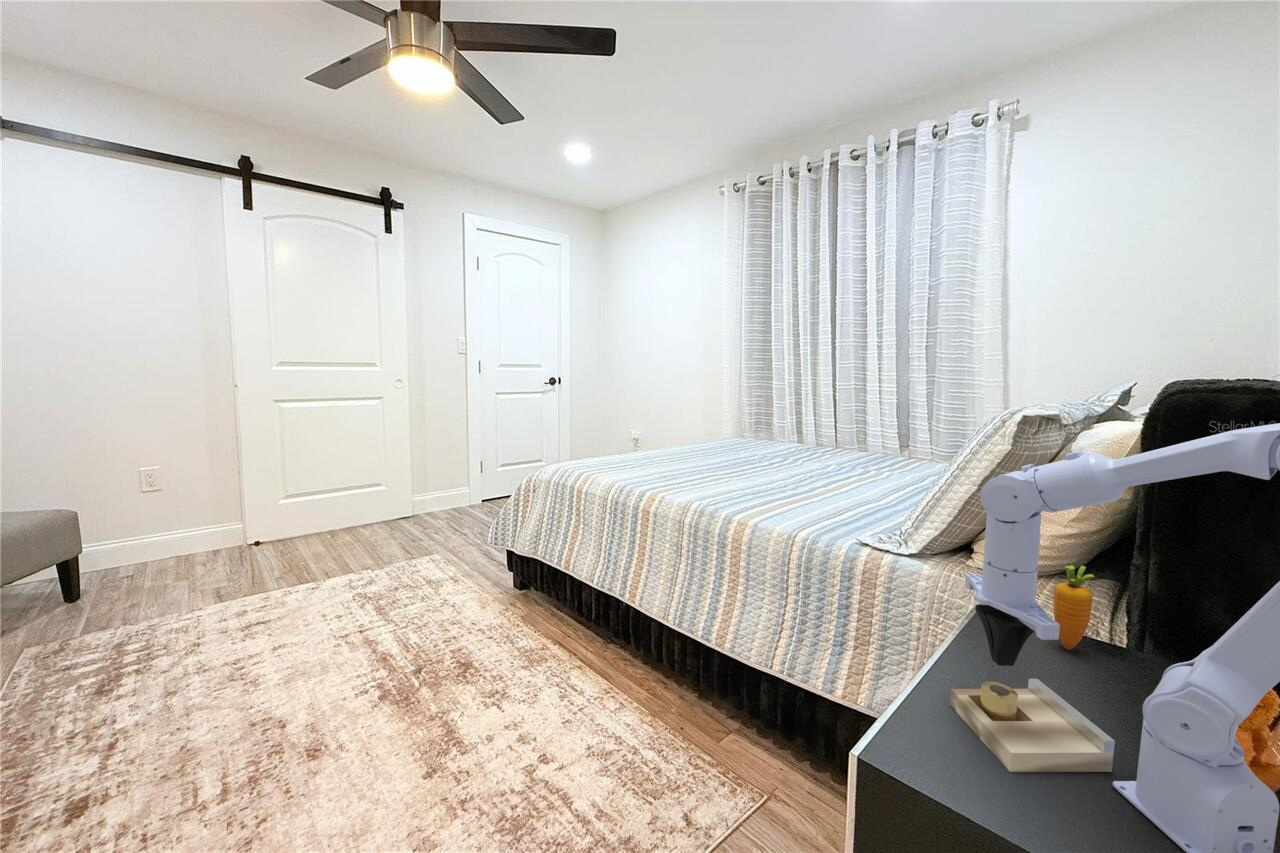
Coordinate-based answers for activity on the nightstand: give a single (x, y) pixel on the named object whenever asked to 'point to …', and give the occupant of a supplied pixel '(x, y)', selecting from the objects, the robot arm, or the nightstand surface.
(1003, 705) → the bushing
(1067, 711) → the jig
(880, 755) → the nightstand surface
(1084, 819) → the nightstand surface
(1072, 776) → the nightstand surface
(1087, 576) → the carrot
